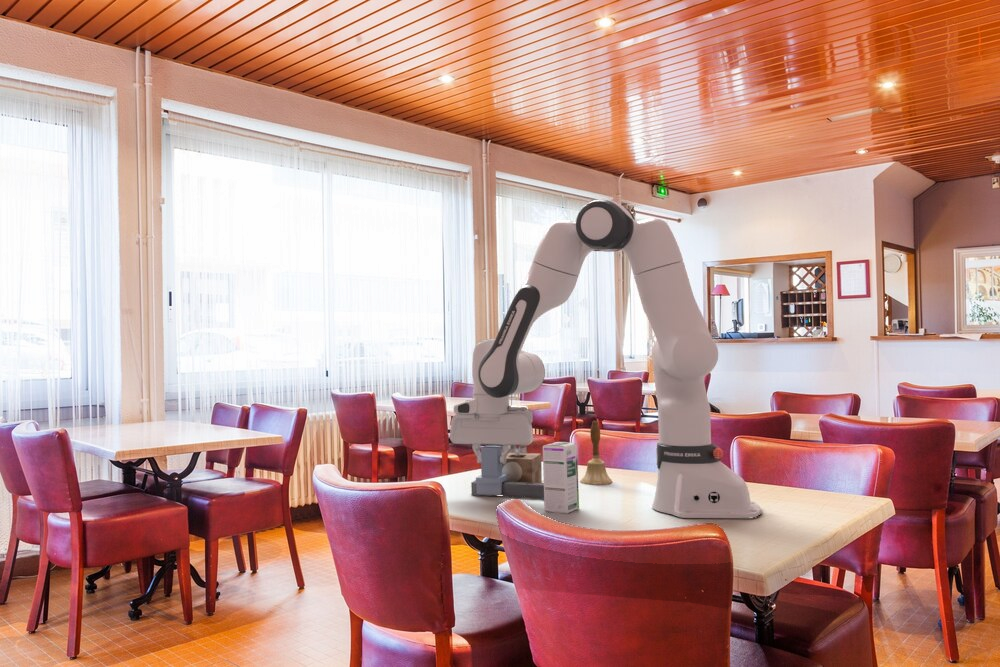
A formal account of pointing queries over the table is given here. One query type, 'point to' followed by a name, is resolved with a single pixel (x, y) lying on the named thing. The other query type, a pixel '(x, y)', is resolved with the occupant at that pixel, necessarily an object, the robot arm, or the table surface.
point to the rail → (517, 489)
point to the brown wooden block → (523, 468)
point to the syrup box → (560, 477)
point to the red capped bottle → (517, 450)
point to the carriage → (490, 472)
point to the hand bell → (596, 462)
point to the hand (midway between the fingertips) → (491, 463)
